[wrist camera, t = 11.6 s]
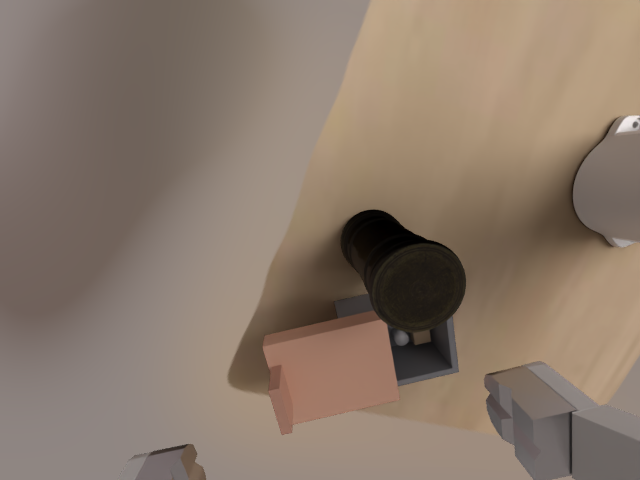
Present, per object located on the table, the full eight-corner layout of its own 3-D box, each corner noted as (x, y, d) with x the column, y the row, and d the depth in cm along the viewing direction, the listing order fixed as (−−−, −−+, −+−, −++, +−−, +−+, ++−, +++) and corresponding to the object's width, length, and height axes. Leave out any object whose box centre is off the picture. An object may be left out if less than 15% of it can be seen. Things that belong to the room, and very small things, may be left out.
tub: (424, 280, 45) (451, 304, 37) (432, 338, 47) (458, 371, 39) (333, 301, 44) (341, 329, 37) (346, 358, 47) (355, 396, 39)
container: (382, 279, 44) (436, 352, 27) (328, 253, 43) (349, 313, 25) (413, 226, 43) (492, 267, 25) (359, 198, 41) (403, 219, 24)
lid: (380, 308, 38) (396, 337, 31) (394, 385, 40) (411, 425, 34) (264, 335, 37) (257, 369, 31) (286, 410, 40) (284, 455, 34)
